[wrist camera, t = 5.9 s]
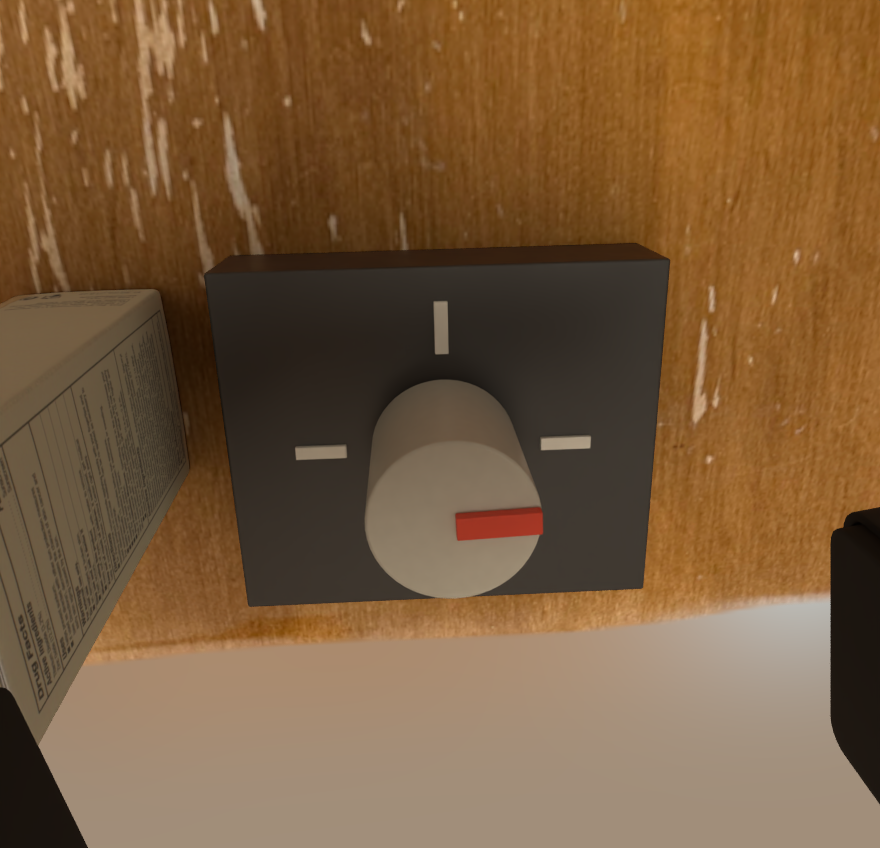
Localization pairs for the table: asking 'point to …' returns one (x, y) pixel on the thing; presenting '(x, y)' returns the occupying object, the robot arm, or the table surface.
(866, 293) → the table surface
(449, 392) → the hob knob
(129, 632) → the table surface
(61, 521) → the cosmetic box
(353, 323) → the panel
